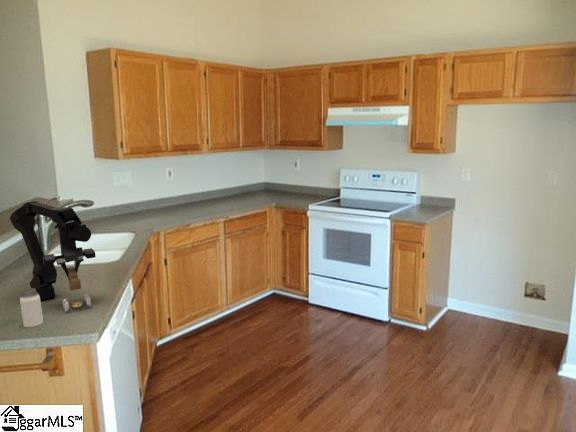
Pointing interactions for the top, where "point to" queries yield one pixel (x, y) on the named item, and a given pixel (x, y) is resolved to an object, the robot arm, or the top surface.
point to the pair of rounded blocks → (86, 299)
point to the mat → (76, 309)
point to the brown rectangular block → (73, 279)
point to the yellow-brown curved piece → (76, 305)
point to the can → (31, 309)
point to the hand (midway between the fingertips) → (71, 276)
